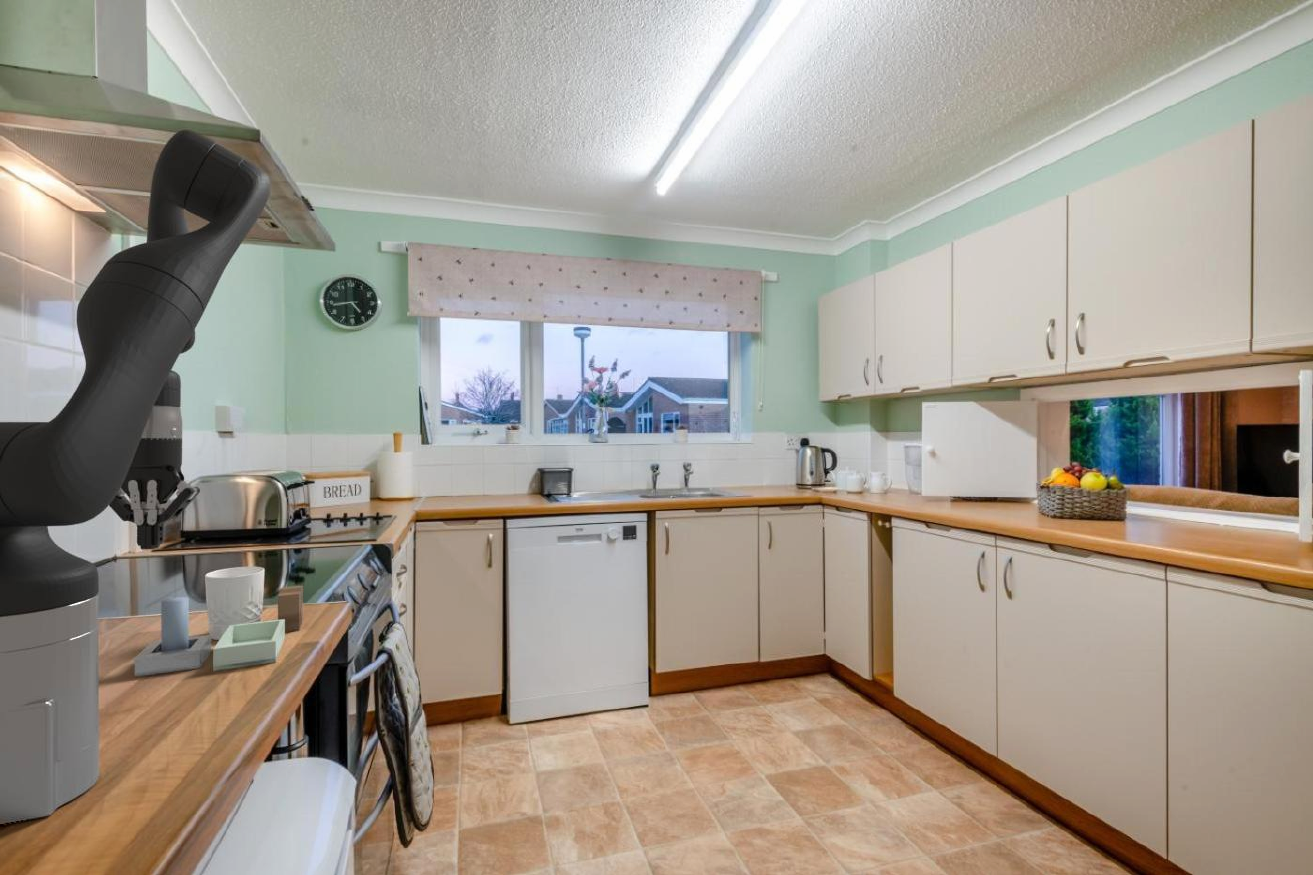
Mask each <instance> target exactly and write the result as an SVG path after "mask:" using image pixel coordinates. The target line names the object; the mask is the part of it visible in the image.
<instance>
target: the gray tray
mask: <svg viewBox="0 0 1313 875" xmlns="http://www.w3.org/2000/svg"><path fill="white" fill-rule="evenodd" d="M211 653H212V638H211V635H209V634H206V635H198V636H197V635H196V636H189V649H182V650H174V651H166V652H161V640H155V641H151V642H149V643H148V645H146V646H145V648H143V650H141V652H139V653H138V655H137V656H136V657H134V677H135V678H137V677H145V676H153V675H158V674H159V675H161V674H166V673H174V672H181V671H188V670H195V669H200V668H201V667H202V666H203V664H204V663H205V662H206V660H207V658H208V657H209V656H210V654H211Z"/></svg>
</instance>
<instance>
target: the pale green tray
mask: <svg viewBox="0 0 1313 875" xmlns="http://www.w3.org/2000/svg"><path fill="white" fill-rule="evenodd" d="M285 639H286V632H285V619H282V620H278V619H275V620H266V621H265V620H264V621H261V622H255V623H247V624H238V625H230V626H229V627H228V629H227V630H226V631H225V633H224V634H223V636H222V637H221V639H220V640H218V642H216V644H215V646H214V647H213V649H212V651H213V653H212V655H213V656H212V657H213V658H212V659H213V660H212V661H213V662H212V663H213V665H212V667H213V668H212V671H213V672H216V671H217V672H218V671H223V670H224V671H225V670H230V669H231V670H232V669H238V668H246V667H252V666H259V665H265V664H273V663H277V660H278V658H279V654H280V652H281V649H282V647H283V644H284V642H285Z"/></svg>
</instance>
